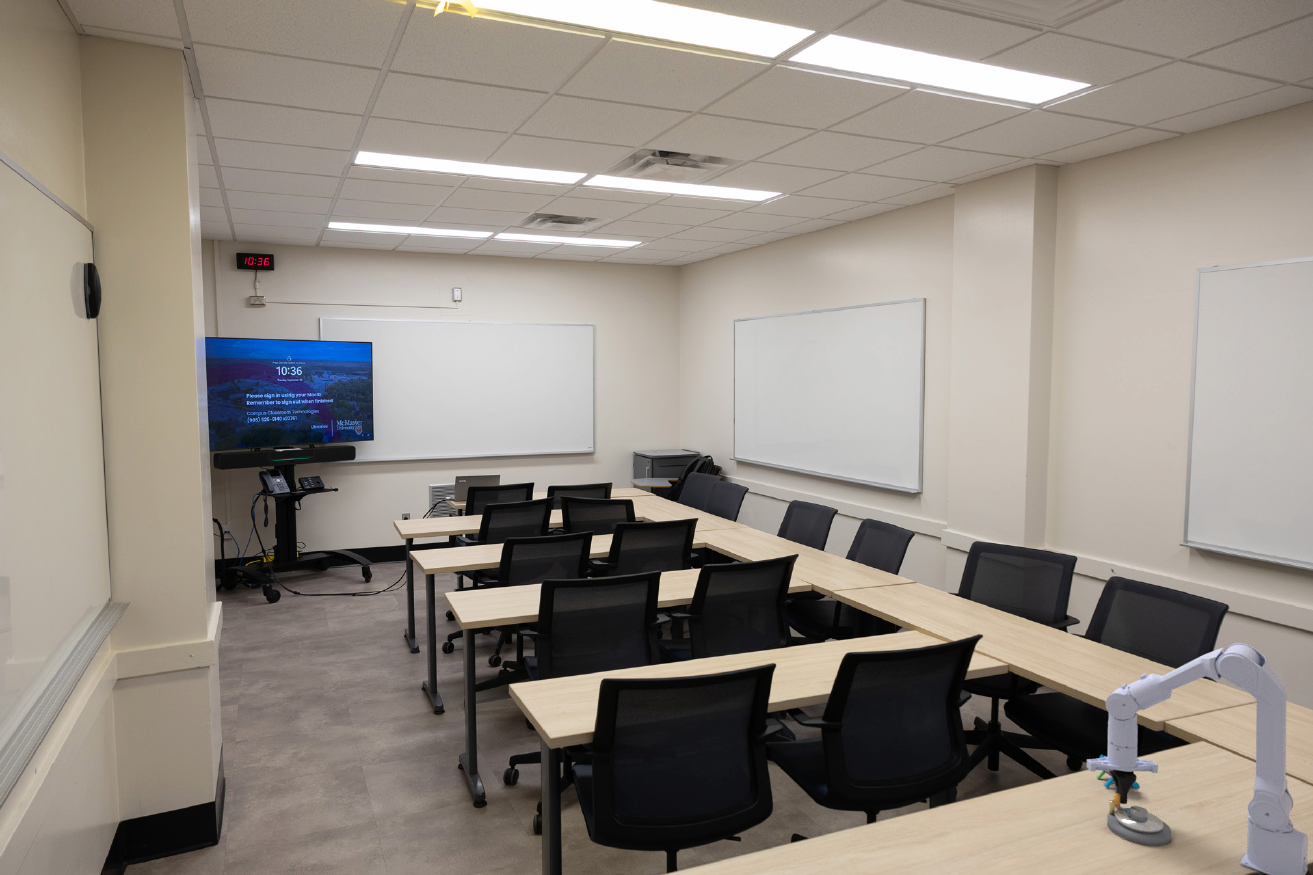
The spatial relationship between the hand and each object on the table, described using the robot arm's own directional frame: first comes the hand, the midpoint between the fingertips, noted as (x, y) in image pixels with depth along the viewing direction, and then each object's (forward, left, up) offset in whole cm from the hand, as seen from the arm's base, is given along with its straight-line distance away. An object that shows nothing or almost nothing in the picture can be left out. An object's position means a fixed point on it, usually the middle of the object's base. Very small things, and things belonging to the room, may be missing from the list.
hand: (1121, 801), depth 177 cm
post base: (-4, +3, -4) cm, 7 cm away
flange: (-4, +3, -2) cm, 5 cm away
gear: (+6, -16, -4) cm, 17 cm away
